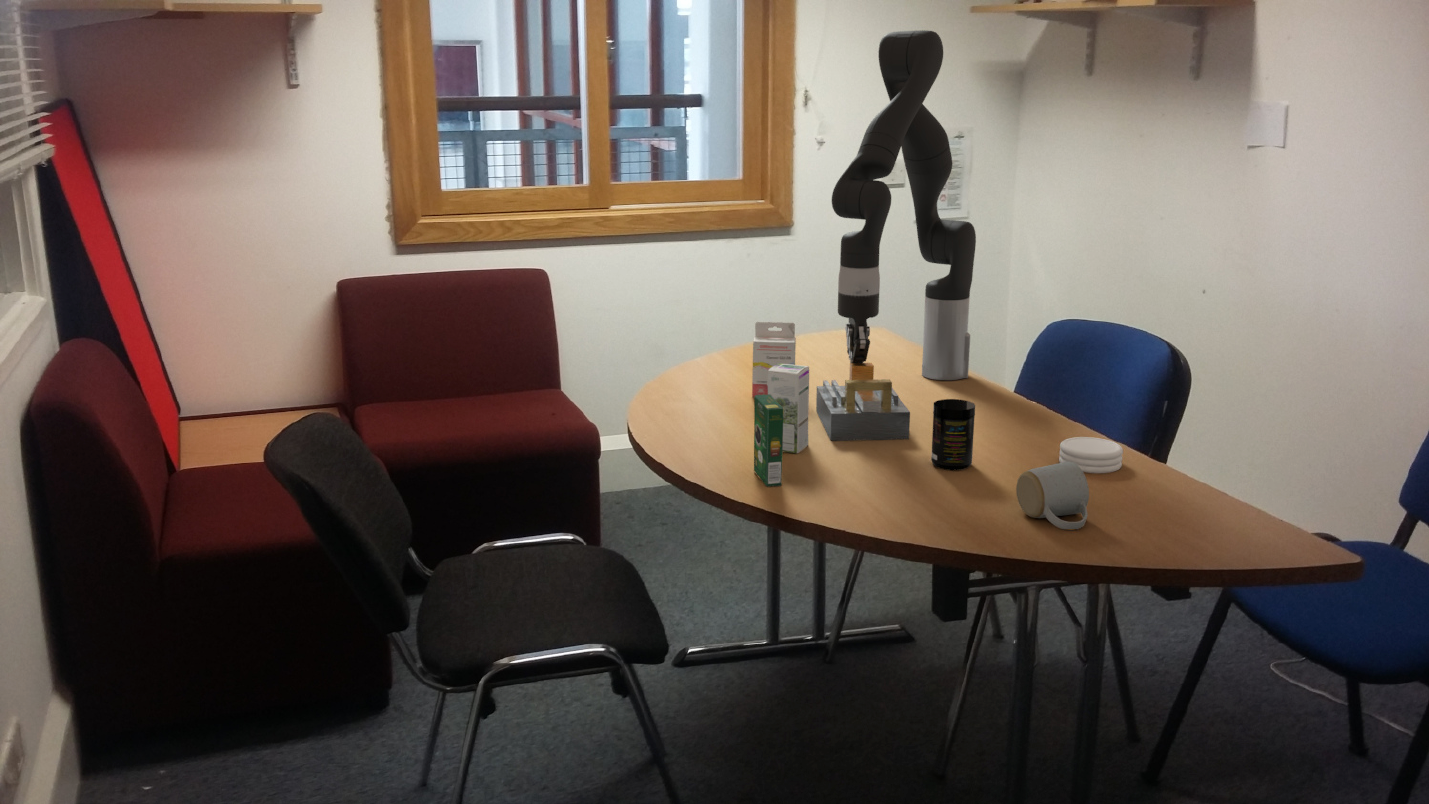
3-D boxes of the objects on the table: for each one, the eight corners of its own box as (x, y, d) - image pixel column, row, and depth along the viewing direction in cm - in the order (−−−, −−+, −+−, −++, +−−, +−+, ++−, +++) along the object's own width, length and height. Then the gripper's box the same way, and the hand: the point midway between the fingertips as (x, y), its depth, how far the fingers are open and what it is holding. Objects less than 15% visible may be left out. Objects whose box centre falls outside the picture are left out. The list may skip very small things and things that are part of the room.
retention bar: (870, 394, 216) (871, 362, 214) (882, 411, 204) (883, 378, 203) (849, 394, 216) (849, 363, 214) (860, 412, 204) (861, 379, 203)
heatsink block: (888, 409, 225) (890, 359, 222) (909, 439, 207) (911, 384, 204) (816, 411, 224) (817, 360, 222) (830, 440, 206) (831, 386, 203)
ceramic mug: (1010, 509, 173) (1014, 460, 171) (1057, 502, 175) (1062, 454, 173) (1052, 535, 163) (1057, 484, 161) (1101, 528, 166) (1106, 477, 164)
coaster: (1046, 459, 196) (1047, 439, 195) (1095, 452, 199) (1096, 433, 198) (1084, 477, 187) (1085, 457, 186) (1134, 470, 190) (1136, 450, 189)
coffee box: (783, 486, 183) (784, 406, 180) (766, 488, 182) (766, 407, 179) (770, 470, 191) (770, 393, 187) (753, 471, 190) (753, 394, 187)
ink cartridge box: (751, 398, 234) (751, 326, 230) (753, 391, 239) (753, 321, 235) (794, 398, 233) (795, 326, 229) (795, 392, 238) (796, 321, 234)
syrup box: (809, 445, 204) (810, 364, 200) (797, 454, 198) (798, 372, 195) (779, 441, 206) (779, 361, 202) (766, 450, 201) (766, 369, 197)
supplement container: (979, 469, 191) (983, 407, 188) (943, 473, 189) (946, 411, 186) (959, 456, 197) (962, 397, 194) (923, 461, 195) (926, 401, 192)
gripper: (885, 296, 207) (882, 390, 212) (872, 282, 220) (869, 370, 225) (844, 297, 207) (841, 391, 212) (833, 283, 219) (831, 371, 224)
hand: (856, 380), depth 218 cm, fingers closed
